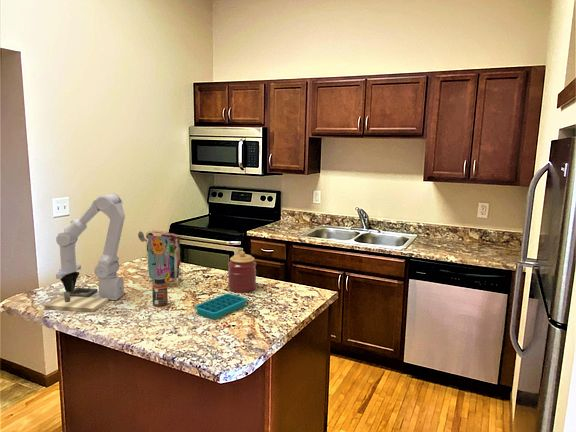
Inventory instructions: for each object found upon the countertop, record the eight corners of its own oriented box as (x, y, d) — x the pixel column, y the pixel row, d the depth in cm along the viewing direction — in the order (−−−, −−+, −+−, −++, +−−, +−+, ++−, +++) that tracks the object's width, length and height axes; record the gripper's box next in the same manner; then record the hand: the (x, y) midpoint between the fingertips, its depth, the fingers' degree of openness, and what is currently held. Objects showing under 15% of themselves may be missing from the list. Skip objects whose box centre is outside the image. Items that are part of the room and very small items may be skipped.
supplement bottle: (158, 308, 168) (157, 281, 167) (149, 304, 172) (148, 277, 170) (170, 304, 173) (170, 277, 171) (161, 300, 177) (161, 274, 175)
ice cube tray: (192, 314, 164) (192, 306, 164) (227, 299, 181) (227, 292, 180) (214, 321, 158) (214, 314, 157) (248, 305, 174) (248, 298, 174)
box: (134, 279, 203) (132, 230, 199) (144, 276, 209) (142, 228, 205) (173, 288, 192) (172, 236, 188) (182, 284, 197) (182, 234, 193)
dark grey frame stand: (97, 292, 185) (96, 278, 184) (85, 299, 176) (85, 285, 175) (73, 290, 186) (73, 277, 185) (61, 297, 177) (60, 284, 176)
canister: (254, 293, 188) (255, 255, 185) (225, 292, 188) (225, 254, 185) (257, 284, 201) (257, 248, 198) (230, 283, 201) (230, 247, 198)
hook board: (107, 301, 174) (107, 290, 173) (93, 312, 163) (92, 299, 162) (62, 299, 175) (61, 287, 175) (44, 309, 165) (43, 296, 164)
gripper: (69, 254, 186) (71, 284, 189) (48, 263, 172) (50, 295, 174) (84, 255, 186) (86, 285, 188) (64, 264, 171) (66, 296, 174)
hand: (70, 290), depth 181 cm, fingers closed
